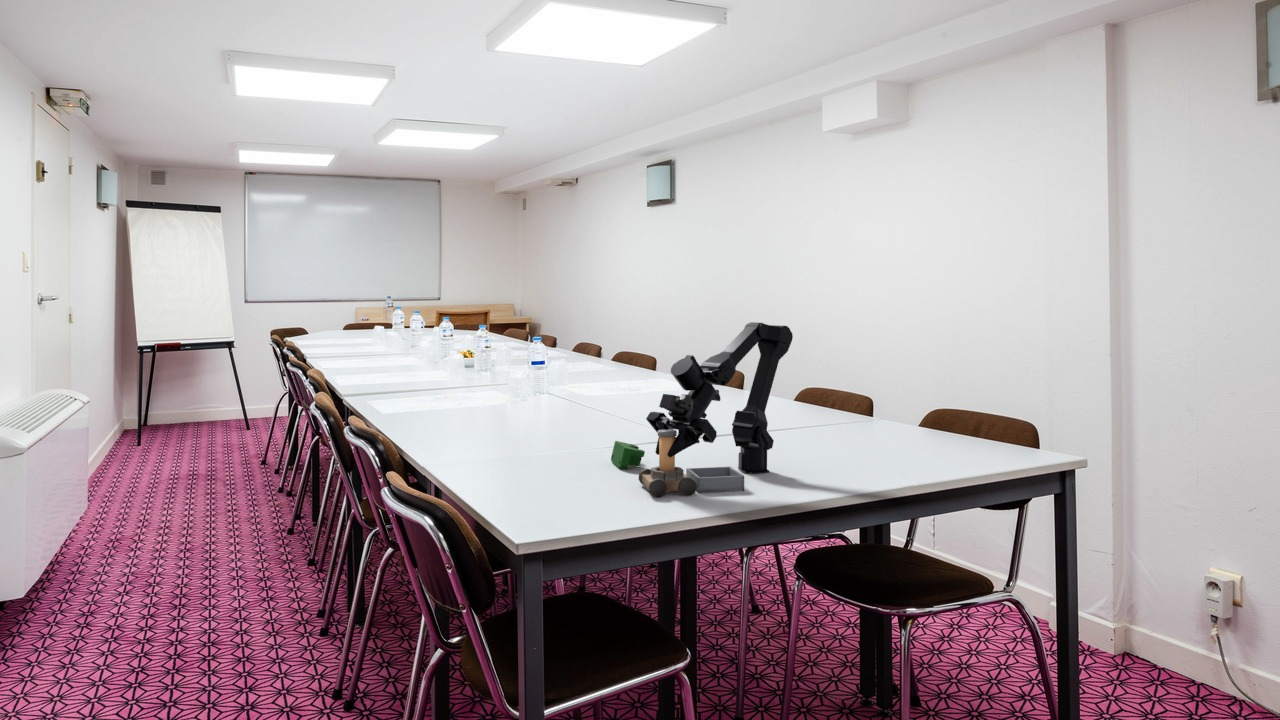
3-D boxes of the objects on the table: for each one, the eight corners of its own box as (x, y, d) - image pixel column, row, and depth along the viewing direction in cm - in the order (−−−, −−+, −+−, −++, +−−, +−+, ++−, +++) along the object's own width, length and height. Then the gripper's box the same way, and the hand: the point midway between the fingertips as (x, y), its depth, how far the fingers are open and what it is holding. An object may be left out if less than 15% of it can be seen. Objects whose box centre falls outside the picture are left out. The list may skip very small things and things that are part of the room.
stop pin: (673, 475, 194) (674, 429, 194) (678, 479, 190) (678, 432, 189) (655, 476, 193) (655, 429, 193) (659, 480, 189) (659, 432, 188)
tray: (729, 480, 202) (729, 466, 202) (744, 490, 192) (744, 476, 191) (686, 482, 200) (686, 468, 200) (698, 493, 189) (698, 478, 189)
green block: (636, 484, 218) (647, 456, 215) (614, 479, 217) (625, 451, 213) (630, 458, 229) (640, 431, 225) (610, 454, 227) (620, 427, 224)
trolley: (683, 483, 199) (683, 463, 199) (696, 495, 187) (696, 473, 187) (638, 485, 197) (638, 464, 197) (649, 497, 185) (649, 475, 184)
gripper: (651, 378, 200) (617, 428, 193) (708, 384, 186) (673, 438, 179) (674, 407, 205) (642, 457, 199) (731, 415, 192) (698, 469, 185)
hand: (662, 454), depth 190 cm, fingers closed on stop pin, 4 cm apart
